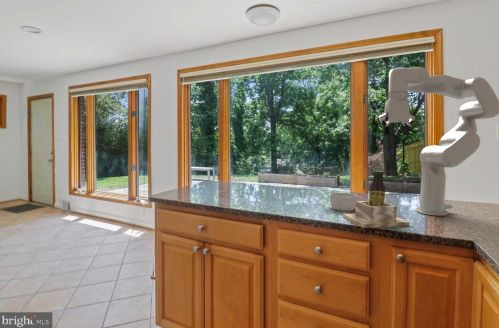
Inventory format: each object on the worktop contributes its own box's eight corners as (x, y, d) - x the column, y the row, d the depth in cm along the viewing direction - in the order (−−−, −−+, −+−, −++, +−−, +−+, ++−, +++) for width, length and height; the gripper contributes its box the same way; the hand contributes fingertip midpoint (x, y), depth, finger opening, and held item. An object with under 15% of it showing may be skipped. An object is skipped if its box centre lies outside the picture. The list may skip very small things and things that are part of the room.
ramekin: (359, 212, 135) (359, 197, 135) (330, 211, 138) (330, 196, 138) (354, 206, 148) (355, 193, 148) (328, 205, 151) (328, 192, 151)
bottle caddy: (384, 215, 129) (385, 199, 129) (409, 225, 114) (410, 207, 113) (343, 217, 126) (343, 200, 126) (363, 228, 111) (364, 209, 110)
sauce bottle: (367, 218, 118) (369, 171, 117) (367, 215, 124) (368, 169, 122) (384, 220, 116) (386, 171, 114) (383, 216, 122) (385, 170, 120)
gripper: (408, 98, 132) (407, 135, 133) (374, 97, 129) (373, 135, 131) (421, 96, 125) (419, 135, 126) (385, 95, 122) (383, 135, 123)
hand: (396, 135), depth 128 cm, fingers open, 9 cm apart
